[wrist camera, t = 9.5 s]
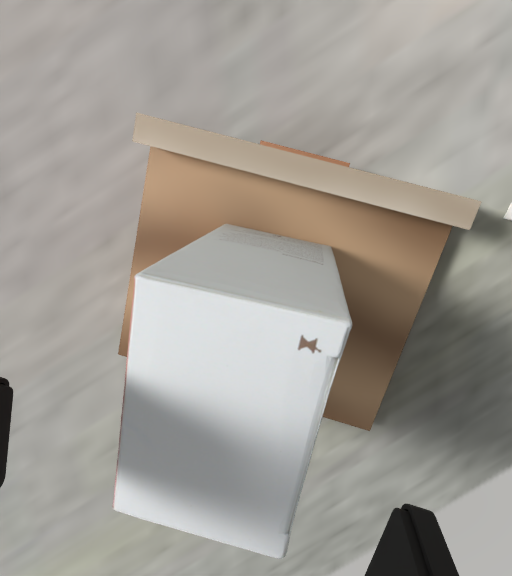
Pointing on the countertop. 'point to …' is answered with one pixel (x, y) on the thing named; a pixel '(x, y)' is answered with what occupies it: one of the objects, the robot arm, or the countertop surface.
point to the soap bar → (509, 213)
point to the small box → (229, 385)
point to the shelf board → (304, 235)
